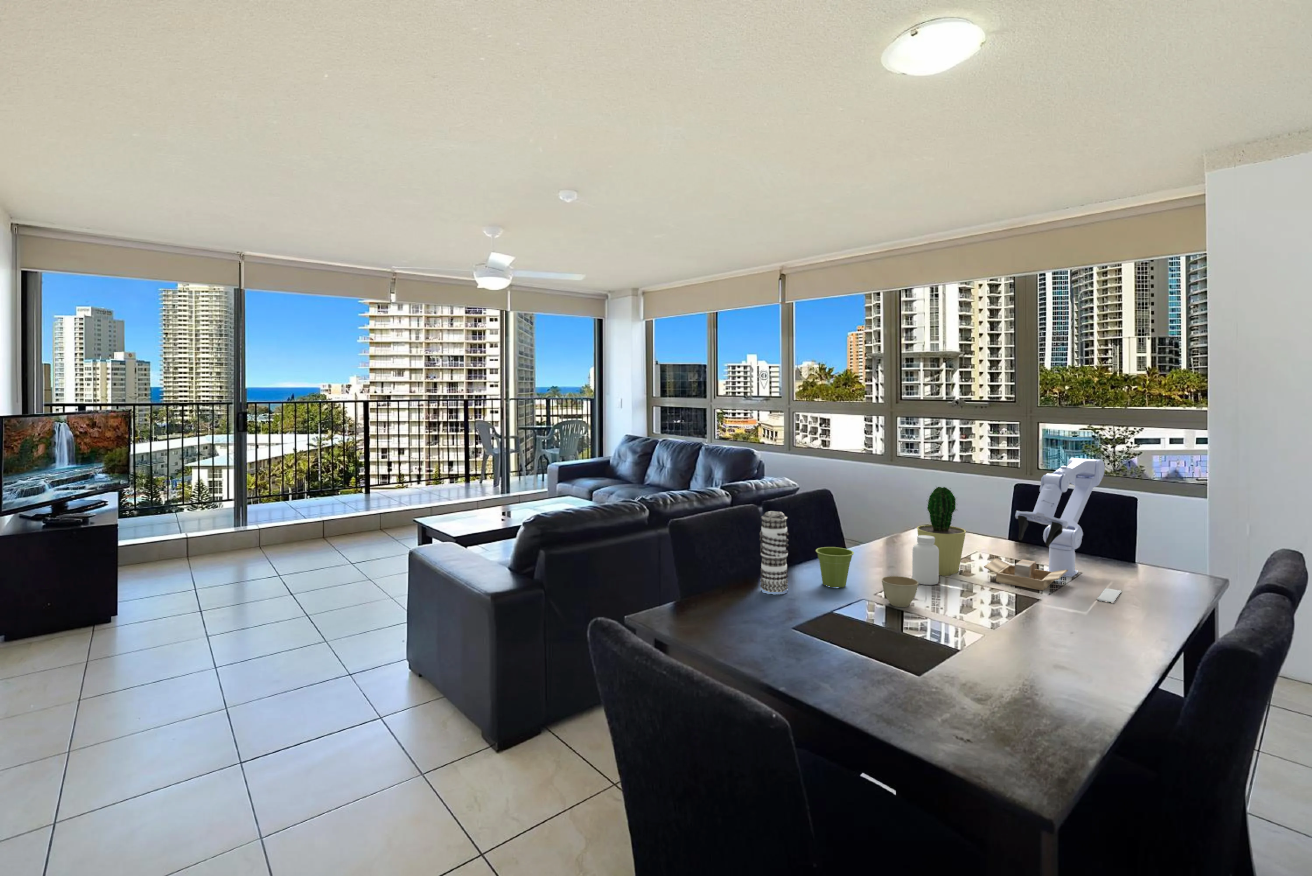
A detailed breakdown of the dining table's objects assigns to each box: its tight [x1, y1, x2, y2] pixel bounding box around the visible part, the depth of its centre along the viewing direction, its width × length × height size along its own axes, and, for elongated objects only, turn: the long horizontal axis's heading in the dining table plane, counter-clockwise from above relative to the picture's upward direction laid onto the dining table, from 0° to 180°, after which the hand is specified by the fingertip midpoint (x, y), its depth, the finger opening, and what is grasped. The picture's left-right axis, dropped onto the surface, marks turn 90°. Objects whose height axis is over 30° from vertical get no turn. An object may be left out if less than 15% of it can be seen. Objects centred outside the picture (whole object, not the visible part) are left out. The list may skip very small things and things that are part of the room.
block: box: [1014, 559, 1037, 579], centre depth 200 cm, size 8×4×6 cm, turn 135°
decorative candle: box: [759, 510, 790, 592], centre depth 195 cm, size 9×9×25 cm
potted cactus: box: [916, 486, 967, 577], centre depth 214 cm, size 15×15×30 cm
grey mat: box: [1095, 587, 1122, 604], centre depth 189 cm, size 14×12×1 cm
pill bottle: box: [911, 535, 940, 586], centre depth 203 cm, size 8×8×15 cm
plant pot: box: [815, 546, 855, 588], centre depth 200 cm, size 12×12×11 cm
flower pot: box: [881, 575, 919, 608], centre depth 182 cm, size 10×10×7 cm
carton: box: [983, 558, 1068, 591], centre depth 200 cm, size 13×21×5 cm, turn 46°
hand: (1033, 542), depth 197 cm, fingers open, 7 cm apart
